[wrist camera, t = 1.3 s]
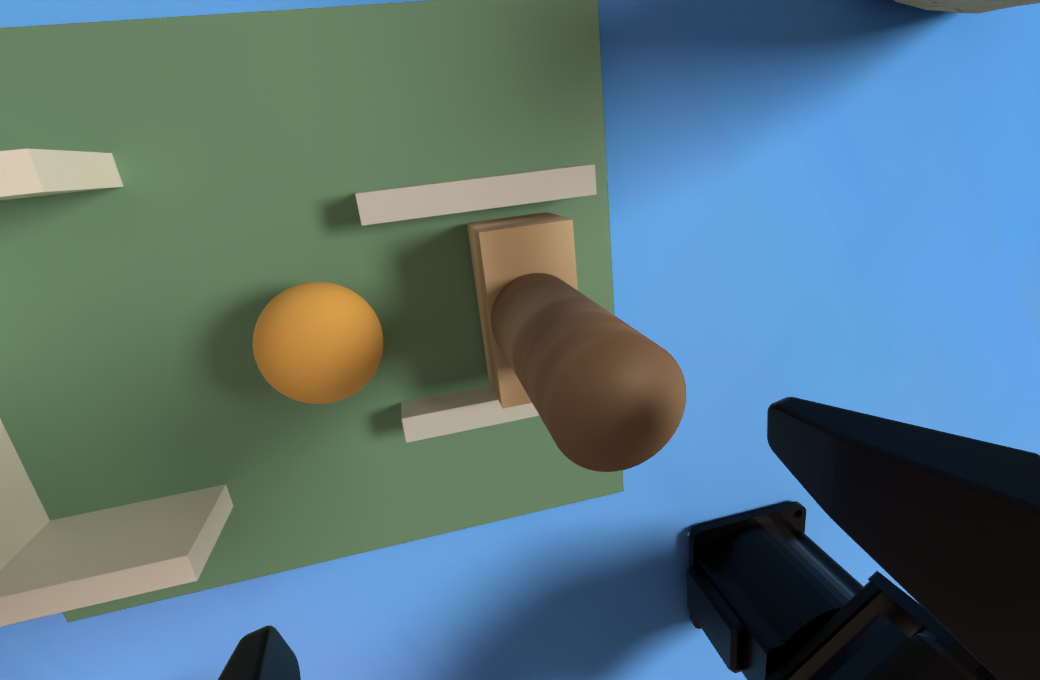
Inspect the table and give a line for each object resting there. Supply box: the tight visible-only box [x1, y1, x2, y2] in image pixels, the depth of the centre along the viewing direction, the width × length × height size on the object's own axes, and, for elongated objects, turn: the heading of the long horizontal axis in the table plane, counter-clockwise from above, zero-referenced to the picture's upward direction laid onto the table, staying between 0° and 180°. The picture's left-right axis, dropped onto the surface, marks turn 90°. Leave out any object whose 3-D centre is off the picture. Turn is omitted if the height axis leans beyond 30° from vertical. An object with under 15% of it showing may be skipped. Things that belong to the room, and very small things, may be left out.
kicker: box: [467, 212, 686, 472], centre depth 15 cm, size 3×6×10 cm, turn 6°
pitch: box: [0, 0, 624, 622], centre depth 19 cm, size 23×20×2 cm
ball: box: [253, 282, 383, 404], centre depth 17 cm, size 4×4×4 cm
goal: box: [0, 148, 233, 627], centre depth 16 cm, size 7×13×4 cm, turn 6°
